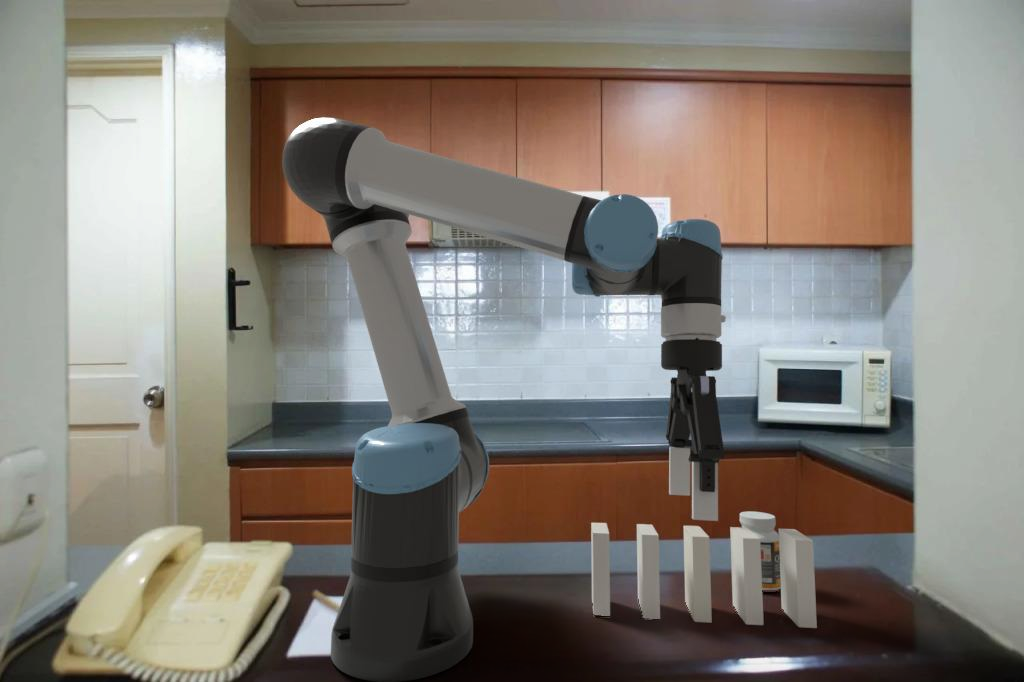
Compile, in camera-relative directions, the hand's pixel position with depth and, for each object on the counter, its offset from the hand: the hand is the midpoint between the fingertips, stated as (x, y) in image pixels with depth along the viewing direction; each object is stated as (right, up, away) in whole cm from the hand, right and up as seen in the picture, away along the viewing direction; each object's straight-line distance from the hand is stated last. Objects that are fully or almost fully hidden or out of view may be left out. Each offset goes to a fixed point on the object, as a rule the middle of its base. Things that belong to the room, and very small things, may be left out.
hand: (690, 506), depth 66 cm
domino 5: (+12, -13, -3) cm, 18 cm away
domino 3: (0, -13, -1) cm, 13 cm away
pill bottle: (+12, -14, +7) cm, 20 cm away
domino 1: (-12, -13, 0) cm, 17 cm away
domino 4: (+6, -13, -2) cm, 15 cm away
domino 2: (-6, -13, -1) cm, 14 cm away
